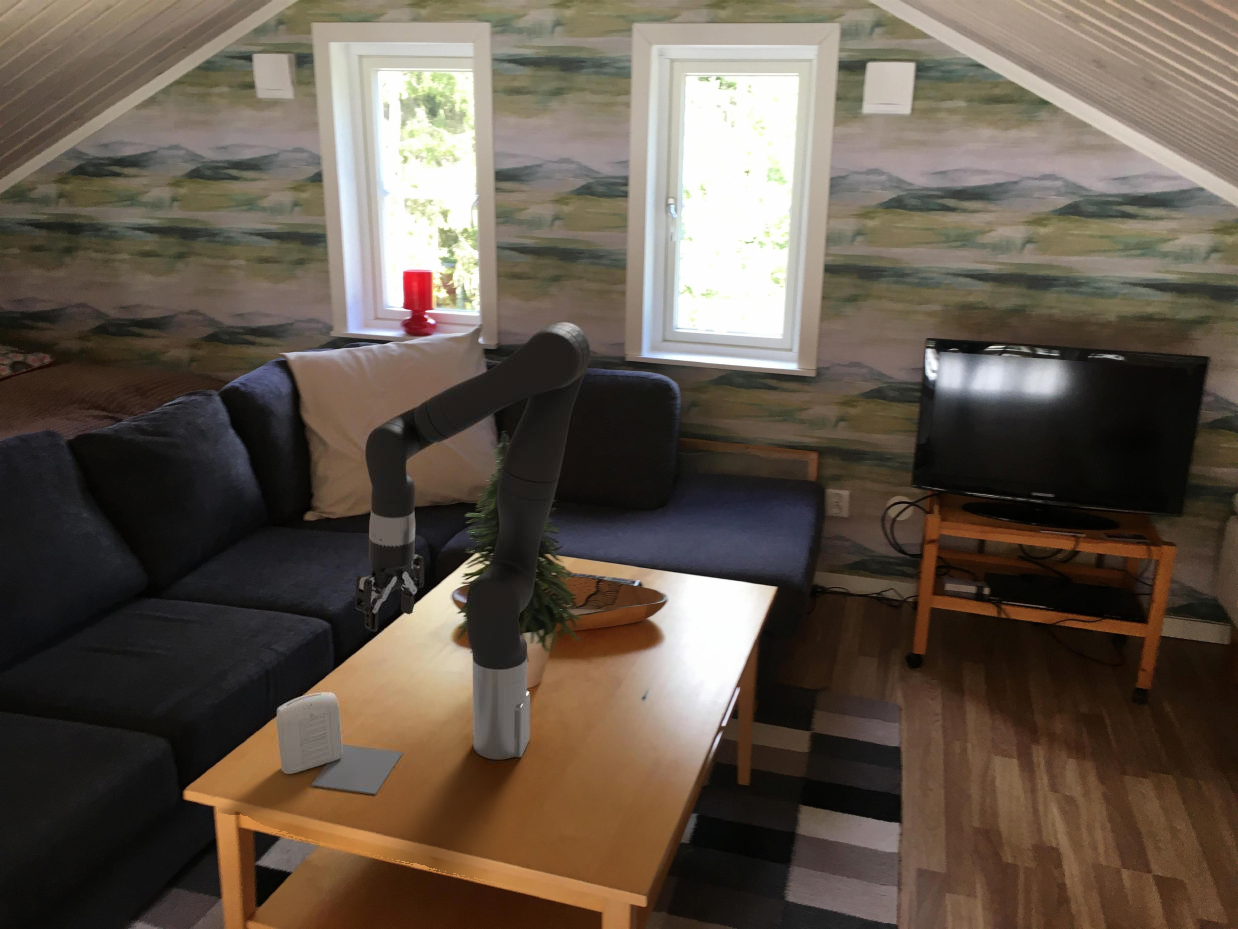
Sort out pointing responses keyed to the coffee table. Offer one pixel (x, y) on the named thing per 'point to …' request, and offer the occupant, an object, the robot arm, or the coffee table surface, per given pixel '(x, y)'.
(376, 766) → the mat
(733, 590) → the coffee table surface
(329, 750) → the photo printer
